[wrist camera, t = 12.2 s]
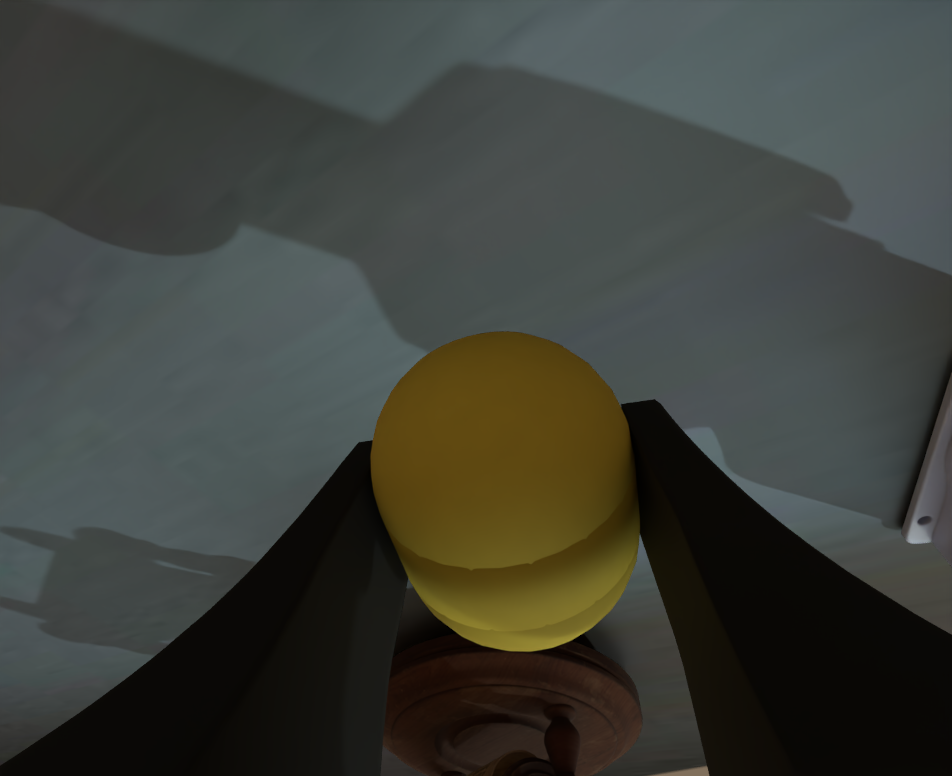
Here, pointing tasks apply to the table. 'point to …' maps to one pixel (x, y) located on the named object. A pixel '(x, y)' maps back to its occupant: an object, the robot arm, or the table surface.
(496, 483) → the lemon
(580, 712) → the wooden rope wheel ornament
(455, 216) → the table surface
